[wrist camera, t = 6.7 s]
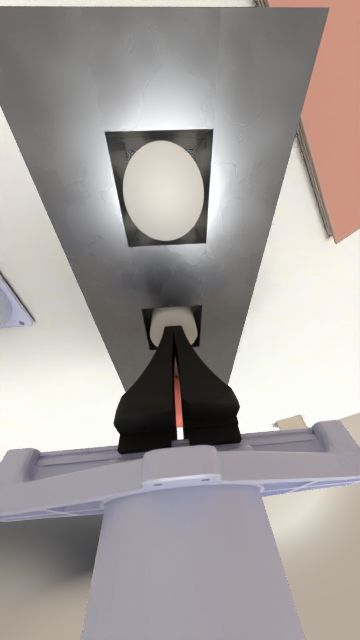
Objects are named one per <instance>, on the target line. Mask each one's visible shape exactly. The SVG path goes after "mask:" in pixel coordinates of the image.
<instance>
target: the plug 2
mask: <svg viewBox="0 0 360 640" xmlns="http://www.w3.org/2000/svg"><path fill="white" fill-rule="evenodd" d="M178 325H181V326H182V327H183V330H184V333H185V335H186V337H187V339H188V341H189V342H190V344H191V345H192V344H193V343H194V341H195V340H196V337H197V328H196V324H195V319H194V315H193V310H192V306H181V307H165V308H153V309H152V319H151V329H150V338H151V341H152V342H153V344H154V345H156V346H157V347H158V345H159V343H160V340H161V338H162V335H163V331H164V327H165V326H178Z"/></svg>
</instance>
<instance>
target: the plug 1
mask: <svg viewBox="0 0 360 640" xmlns="http://www.w3.org/2000/svg"><path fill="white" fill-rule="evenodd" d="M123 196H124V202H125V206H126V209H127V211H128V214H129V216H130V218H131V219H132V221H133V222H134V224H135V225H136V226H137V227H138V228H139V229H140V230H141V231H142V232H143V233H144V234H146V235H147V236H149V237H151V238H153V239H156V240H161V241H170V240H175V239H178V238H180V237H182V236H184V235H185V234H186V233H188V232H189V231H190V230H191V229H192V227H193V226H194V225H195V223H196V222H197V220H198V218H199V216H200V213H201V210H202V206H203V200H204V187H203V181H202V177H201V174H200V171H199V168H198V166H197V164H196V163H195V161H194V159H193V158H192V157H191V156H190V154H189V153H188V152H187V151H185V150H184V149H183V148H182V147H180V146H179V145H177V144H174V143H172V142H168V141H154V142H151V143H148V144H146V145H144V146H142V147H141V148H140V149H139V150H137V152H136V153H135V154H134V155H133V156H132V158H131V159H130V161H129V163H128V165H127V168H126V171H125V174H124V179H123Z"/></svg>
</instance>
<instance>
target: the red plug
mask: <svg viewBox="0 0 360 640" xmlns="http://www.w3.org/2000/svg"><path fill="white" fill-rule="evenodd" d="M174 390H175V408H176V426H177V427H183V421H182V407H181V394H180V382H179V376H174Z"/></svg>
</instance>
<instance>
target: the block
mask: <svg viewBox="0 0 360 640" xmlns="http://www.w3.org/2000/svg"><path fill="white" fill-rule="evenodd" d="M329 9H330V7H48V6H0V106H1V108H2V110H3V113H4V115H5V117H6V120H7V122H8V124H9V126H10V129H11V131H12V133H13V136H14V138H15V140H16V142H17V145H18V147H19V149H20V152H21V154H22V156H23V158H24V161H25V163H26V165H27V168H28V170H29V172H30V174H31V177H32V179H33V181H34V184H35V186H36V188H37V190H38V193H39V195H40V197H41V200H42V202H43V204H44V206H45V209H46V211H47V213H48V216H49V218H50V220H51V222H52V225H53V227H54V229H55V232H56V234H57V236H58V238H59V241H60V243H61V245H62V248H63V250H64V252H65V254H66V257H67V259H68V261H69V264H70V266H71V268H72V270H73V273H74V275H75V277H76V280H77V282H78V284H79V286H80V289H81V291H82V293H83V296H84V298H85V300H86V302H87V305H88V307H89V309H90V312H91V314H92V316H93V318H94V321H95V323H96V325H97V327H98V330H99V332H100V334H101V337H102V339H103V341H104V343H105V346H106V348H107V350H108V353H109V355H110V357H111V359H112V362H113V364H114V366H115V369H116V371H117V373H118V375H119V378H120V380H121V382H122V385H123V387H124V389H125V391H126V392H127V391H128V390H129V388H130V387H131V386H132V385H133V384H134V383H135V382H136V380H137V379H138V378H139V377H140V375H141V374H142V373H143V371H144V370H145V368H146V367H147V366H148V364H149V362H150V361H151V359H152V357H153V355H154V354H155V352H156V350H157V348H158V347H157V346H156V345H154V344H153V342H152V341H151V338H150V329H151V319H152V309H151V308H165V307H181V306H193V315H194V319H195V324H196V328H197V337H196V340H195V341H194V343H193V344H192V345H191V346H192V347H193V349H194V350H195V352H196V353H197V354H198V356H199V357H200V358H201V360H202V361H203V362H204V363H205V364H206V365H207V367H208V368H209V369H210V370H211V371H212V372H213V373H214V374H215V375H216V376H218V377H219V378H220V379H221V380H222V381H223V382H224V383H226V384H227V385H228V383H229V379H230V375H231V372H232V368H233V364H234V360H235V357H236V353H237V349H238V346H239V342H240V338H241V335H242V331H243V327H244V323H245V320H246V316H247V312H248V309H249V305H250V301H251V298H252V294H253V290H254V286H255V283H256V279H257V275H258V272H259V268H260V264H261V261H262V257H263V253H264V249H265V246H266V242H267V238H268V235H269V231H270V227H271V223H272V220H273V216H274V212H275V209H276V205H277V201H278V198H279V194H280V190H281V186H282V183H283V179H284V175H285V172H286V168H287V164H288V161H289V157H290V153H291V149H292V146H293V142H294V138H295V135H296V131H297V127H298V124H299V120H300V116H301V112H302V109H303V105H304V101H305V98H306V94H307V90H308V87H309V83H310V79H311V75H312V72H313V68H314V64H315V61H316V57H317V53H318V50H319V46H320V42H321V38H322V35H323V31H324V27H325V24H326V20H327V16H328V13H329ZM154 141H168V142H172V143H174V144H177V145H179V146H180V147H182V148H183V149H196V164H197V166H198V168H199V171H200V174H201V177H202V181H203V187H204V200H203V206H202V210H201V213H200V216H199V218H198V220H197V222H196V223H195V227H192V229H191V230H190V231H189V232H188V233H186V234H185V235H184V236H182V237H180V238H178V239H175V240H170V241H161V240H156V239H153V238H151V237H149V236H147V235H146V234H144V233H143V232H142V231H141V230H139V229H138V227H137V226H136V225H135V224H134V222H133V221H132V219H131V218H130V216H129V214H128V211H127V209H126V206H125V202H124V196H123V179H124V174H125V171H126V168H127V165H128V161H127V155H126V151H132V150H139V149H140V148H141V147H142V146H144V145H146V144H148V143H151V142H154ZM174 376H179V375H178V369H177V363H176V357H175V374H174Z"/></svg>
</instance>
